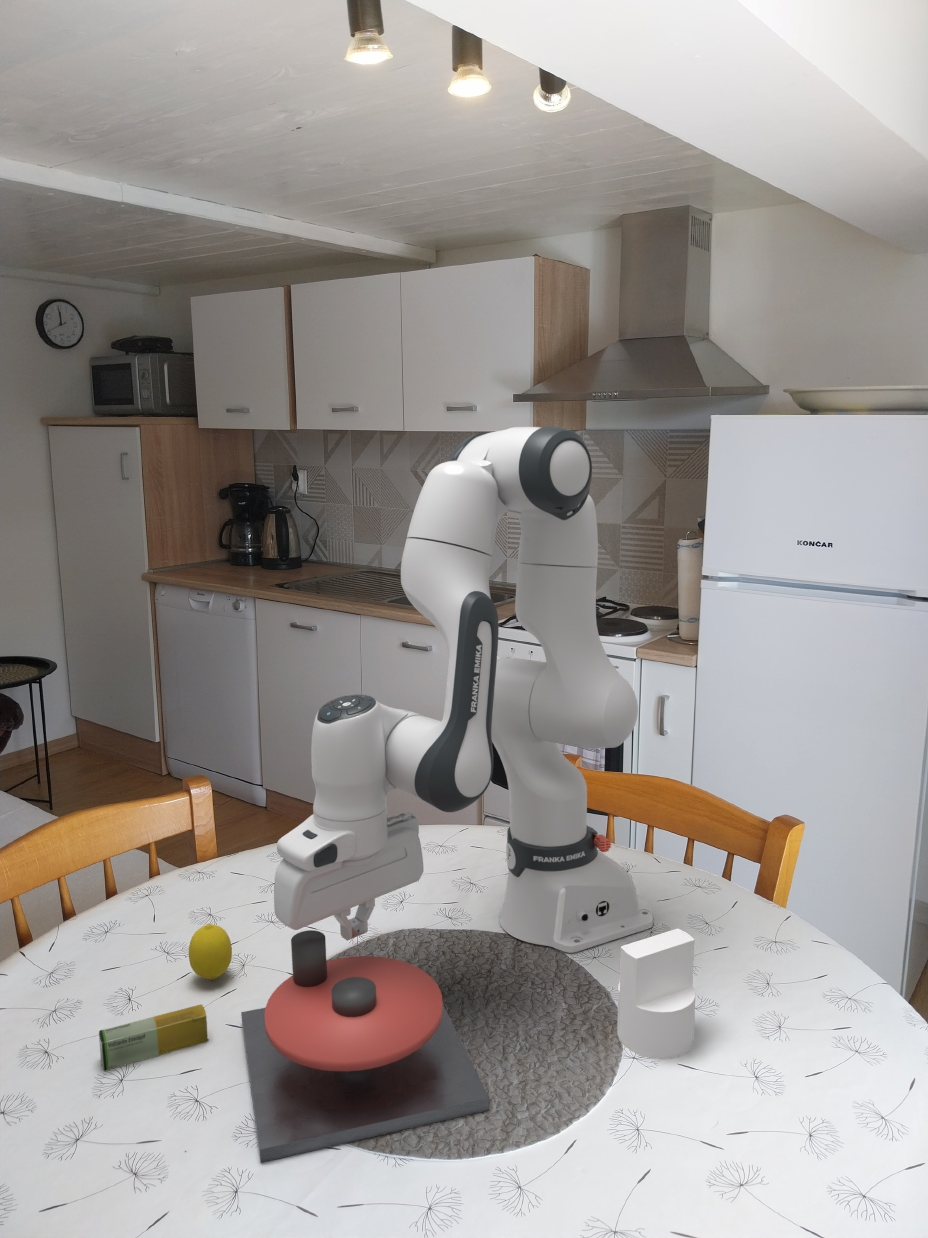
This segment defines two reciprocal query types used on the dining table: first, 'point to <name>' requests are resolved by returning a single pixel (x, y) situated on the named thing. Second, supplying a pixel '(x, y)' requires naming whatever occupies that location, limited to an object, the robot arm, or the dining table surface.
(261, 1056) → the valve stand
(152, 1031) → the medication box
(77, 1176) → the dining table surface
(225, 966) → the lemon
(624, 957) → the base with upright slab
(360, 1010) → the handwheel
